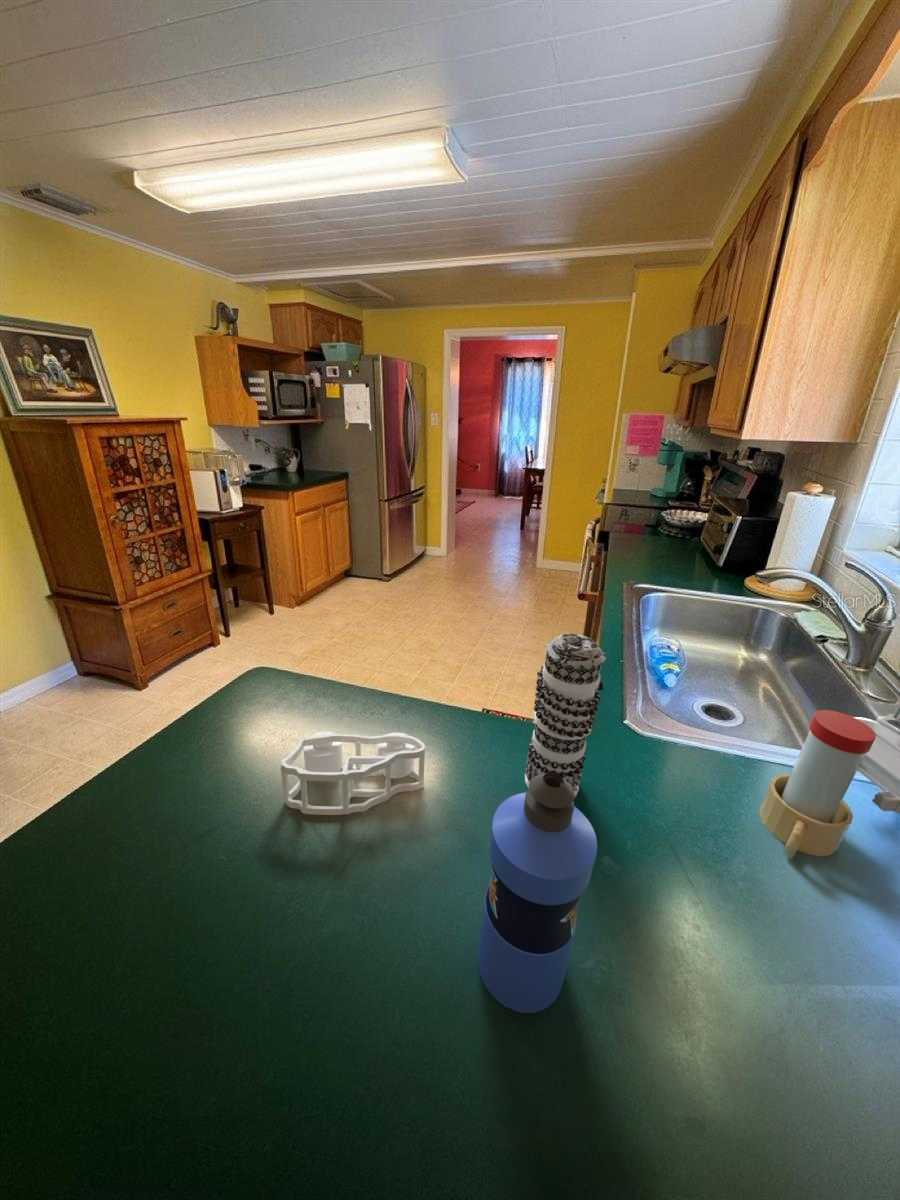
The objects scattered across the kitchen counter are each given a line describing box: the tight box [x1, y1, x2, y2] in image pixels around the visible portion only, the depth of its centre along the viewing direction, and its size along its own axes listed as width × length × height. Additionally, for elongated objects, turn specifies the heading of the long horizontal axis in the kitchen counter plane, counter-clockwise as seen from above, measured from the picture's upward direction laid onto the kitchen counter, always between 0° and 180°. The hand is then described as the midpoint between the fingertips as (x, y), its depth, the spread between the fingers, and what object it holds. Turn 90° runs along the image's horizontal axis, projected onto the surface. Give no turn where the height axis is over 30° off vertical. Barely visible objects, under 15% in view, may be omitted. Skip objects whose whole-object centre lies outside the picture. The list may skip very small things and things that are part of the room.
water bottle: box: [477, 772, 598, 1014], centre depth 45 cm, size 9×9×25 cm
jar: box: [781, 709, 876, 824], centre depth 64 cm, size 6×6×18 cm
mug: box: [758, 773, 854, 859], centre depth 66 cm, size 12×9×6 cm
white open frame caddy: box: [280, 731, 427, 816], centre depth 70 cm, size 20×11×7 cm, turn 93°
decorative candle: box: [524, 633, 607, 799], centre depth 69 cm, size 9×9×25 cm
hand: (846, 774), depth 64 cm, fingers open, 8 cm apart
